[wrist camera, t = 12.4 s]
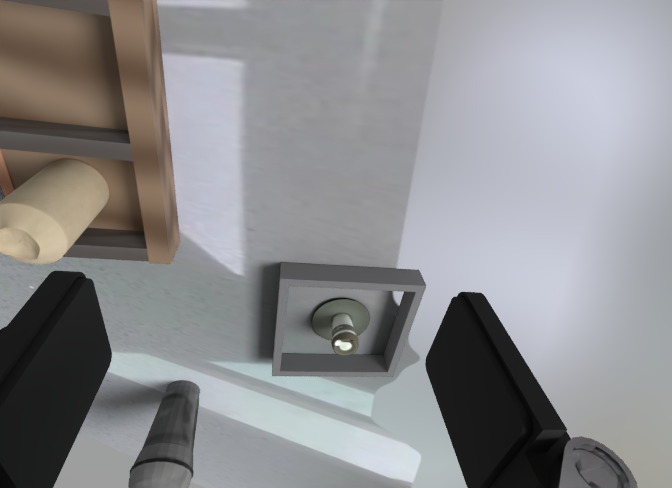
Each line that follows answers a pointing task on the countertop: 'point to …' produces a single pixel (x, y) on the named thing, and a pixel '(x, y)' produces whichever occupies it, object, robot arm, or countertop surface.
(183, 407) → the beverage cup
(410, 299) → the grey shallow square tray
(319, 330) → the coffee cup
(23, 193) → the candle
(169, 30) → the countertop surface
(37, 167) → the wooden divided tray
